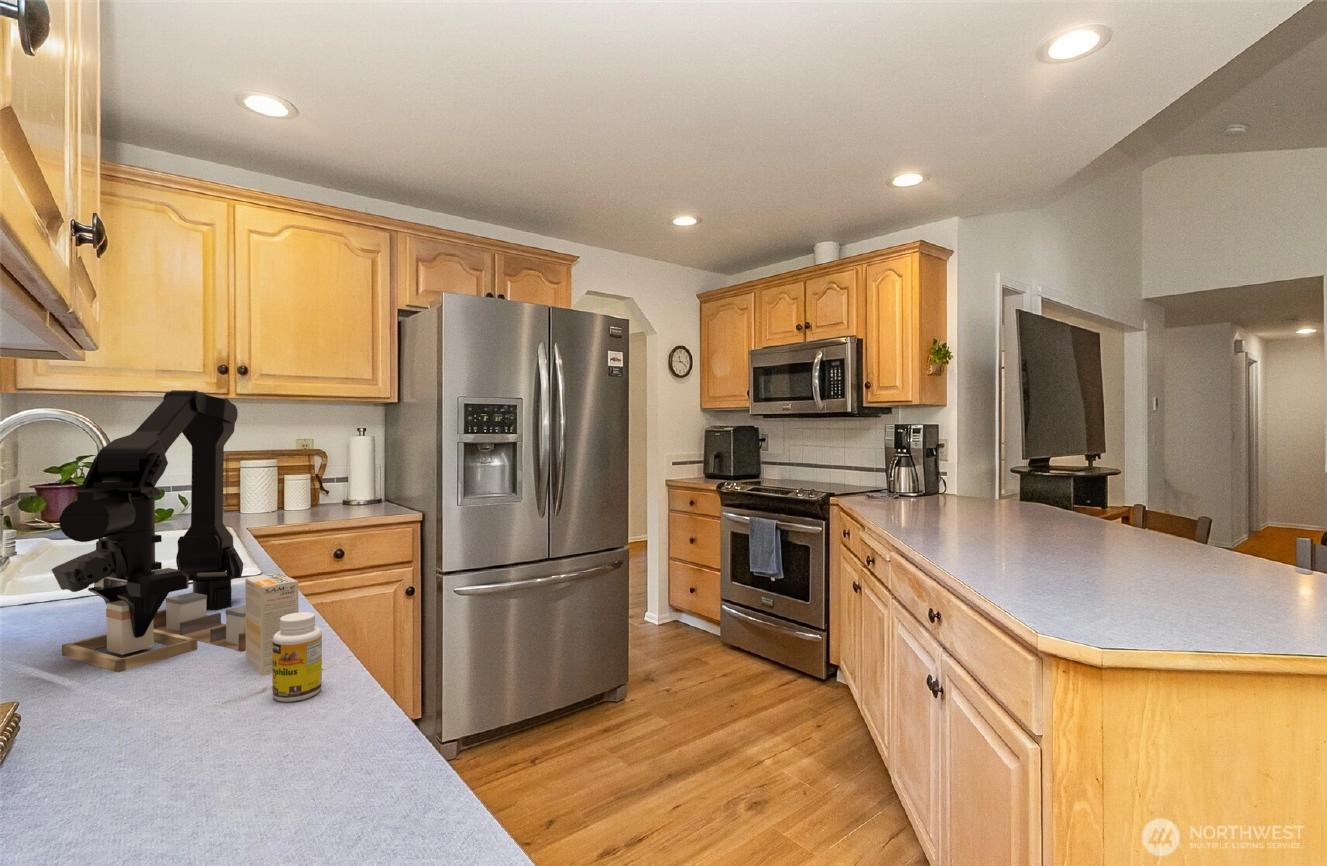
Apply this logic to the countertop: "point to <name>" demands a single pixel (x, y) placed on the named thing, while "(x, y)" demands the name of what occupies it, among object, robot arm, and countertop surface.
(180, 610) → the grey beige rectangular block
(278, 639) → the supplement bottle
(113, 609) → the beige striped box
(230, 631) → the block
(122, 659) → the tray
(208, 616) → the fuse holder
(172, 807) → the countertop surface
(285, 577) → the supplement box
